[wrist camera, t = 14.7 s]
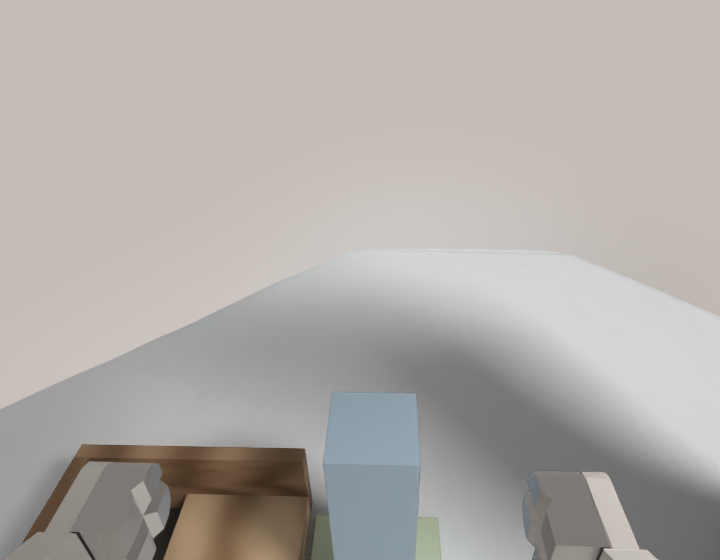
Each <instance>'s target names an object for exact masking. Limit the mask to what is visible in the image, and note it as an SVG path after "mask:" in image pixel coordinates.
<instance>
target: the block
mask: <svg viewBox="0 0 720 560" xmlns="http://www.w3.org/2000/svg"><path fill="white" fill-rule="evenodd" d="M323 467H324V476H325V485H326V494H327V502H328V511H329V520H330V528H331V537H332V546H333V554H334V560H415V555H416V537H417V518H418V500H419V481H420V451H419V433H418V414H417V396H416V393H372V392H332V398H331V406H330V414H329V421H328V429H327V437H326V444H325V452H324V460H323Z"/></svg>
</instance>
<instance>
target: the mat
mask: <svg viewBox="0 0 720 560" xmlns="http://www.w3.org/2000/svg"><path fill="white" fill-rule="evenodd" d="M311 560H334V554H333V546H332V537H331V528H330V520H329V515H316V521H315V529H314V537H313V545H312V553H311ZM415 560H442V559H441V547H440V535H439V523H438V518H428V517H418V518H417V537H416V555H415Z"/></svg>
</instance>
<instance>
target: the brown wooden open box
mask: <svg viewBox="0 0 720 560" xmlns="http://www.w3.org/2000/svg"><path fill="white" fill-rule="evenodd" d="M89 461H94V462H123V463H152V464H159V466H160V468H161V471H162V476H161V478H160V480H161V481H162V482H164V483H165V484H166V485H168V488H169V491H170V497H171V504H170V511H169V516H168V519H167V522H166V525H165V527H164V529H163V530H162V531H161V532H160V533H159V534H158V535H156V536H155V537H154V538H153V539H154V542H155V546H156V551H155V554H154V556H153V559H152V560H304V559H305V551H306V544H307V537H308V529H309V522H310V515H311V507H312V496H311V489H310V482H309V475H308V468H307V461H306V454H305V449H298V448H245V447H191V446H138V445H85V444H82V445H81V447H80V449H79V450H78V452H77V454H76V455H75V457H74V459H73V460H72V462H71V464H70V465H69V467H68V468H67V470H66V472H65V473H64V475H63V477H62V478H61V480H60V482H59V483H58V485H57V487H56V488H55V490H54V492H53V493H52V495H51V497H50V498H49V500H48V501H47V503H46V505H45V506H44V508H43V510H42V511H41V513H40V515H39V516H38V518H37V520H36V521H35V523H34V525H33V526H32V528H31V530H30V531H29V533H28V534H27V536H26V538H25V539H24V541H23V543H24V542H25V541H27V540H28V539H29V538H31V537H32V536H33V535H34V534H36V533H37V532H45V530H46V528H47V527H48V525H49V523H50V521H51V520H52V518H53V516H54V515H55V513H56V511H57V510H58V508H59V506H60V504H61V503H62V501H63V499H64V498H65V496H66V494H67V492H68V491H69V489H70V487H71V486H72V484H73V482H74V480H75V479H76V477H77V475H78V474H79V472H80V470H81V469H82V467H84V466H85V465H86V464H87V463H88V462H89ZM23 543H22V544H23ZM22 544H21V545H22Z"/></svg>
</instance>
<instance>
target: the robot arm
mask: <svg viewBox="0 0 720 560" xmlns="http://www.w3.org/2000/svg"><path fill="white" fill-rule="evenodd" d="M161 476H162V471H161V468H160V466H159V464H152V463H123V462H94V461H89V462H88V463H87V464H86V465H85V466H84V467H82V469H81V470H80V472H79V474H78V475H77V477H76V479H75V480H74V482H73V484H72V486H71V487H70V489H69V491H68V492H67V494H66V496H65V498H64V499H63V501H62V503H61V504H60V506H59V508H58V510H57V511H56V513H55V515H54V516H53V518H52V520H51V521H50V523H49V525H48V527H47V528H46V530H45V532H37V533H36V534H34V535H33V536H32V537H31V538H29V539H28V540H27V541H25V542H24V543H23V544H22V545H20V546H19V547H18V548H16V549H15V550H14V551H13V552H11V553H10V554H9V555H7V556H6V557H5V558H4V559H2V560H152V559H153V556H154V554H155V551H156V546H155V542H154V539H153V538H154V537H155V536H156V535H158V534H159V533H160V532H161V531H162V530H163V529H164V527H165V525H166V522H167V519H168V516H169V511H170V504H171V497H170V491H169V488H168V485H166V484H165V483H164V482H162V481H161V480H160V478H161ZM528 484H529V488H530V490H529V491H528V492H526V493H525V495H524V500H523V521H524V528H525V532H526V537H527V539H528V541H529V542H530V543H531V544H532V545H533V546H534V547H535V551H534V554H533V558H532V560H658V559H657V558H656V557H655V556H653V555H652V554H651V553H650V552H649V551H648V550H643V549H639V546H638V544H637V542H636V539H635V537H634V534H633V532H632V530H631V527H630V525H629V522H628V520H627V518H626V515H625V513H624V511H623V508H622V506H621V503H620V501H619V499H618V496H617V494H616V491H615V489H614V487H613V484H612V482H611V479H610V477H609V476H608V475H607V474H606V473H604V472H579V471H532V472H531V473H530V475H529V479H528Z"/></svg>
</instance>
